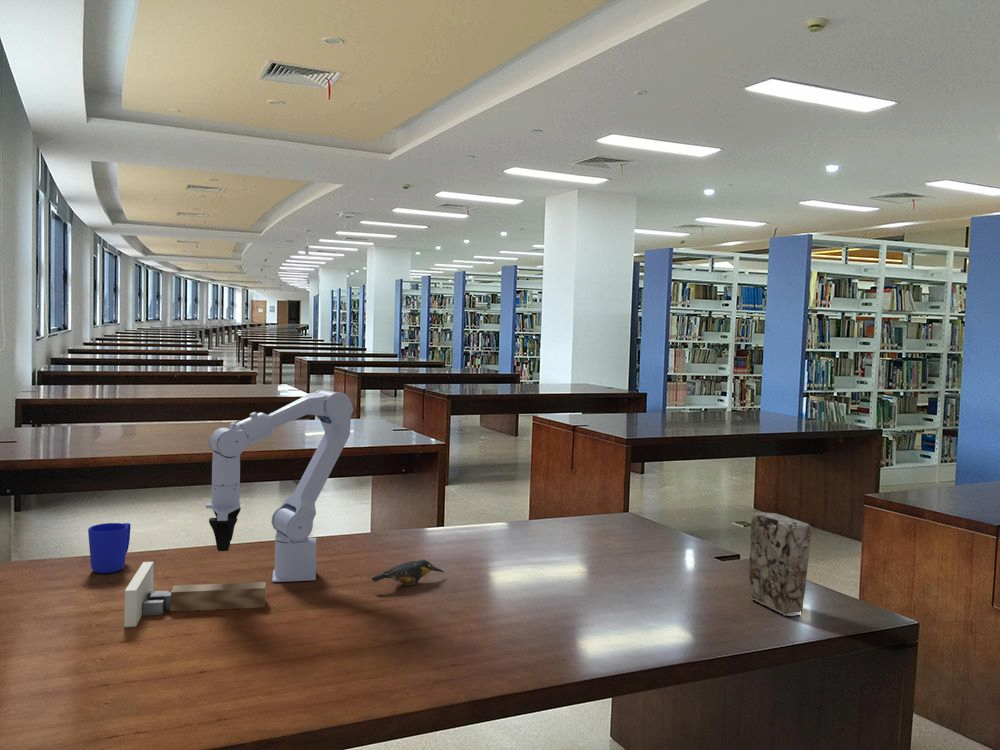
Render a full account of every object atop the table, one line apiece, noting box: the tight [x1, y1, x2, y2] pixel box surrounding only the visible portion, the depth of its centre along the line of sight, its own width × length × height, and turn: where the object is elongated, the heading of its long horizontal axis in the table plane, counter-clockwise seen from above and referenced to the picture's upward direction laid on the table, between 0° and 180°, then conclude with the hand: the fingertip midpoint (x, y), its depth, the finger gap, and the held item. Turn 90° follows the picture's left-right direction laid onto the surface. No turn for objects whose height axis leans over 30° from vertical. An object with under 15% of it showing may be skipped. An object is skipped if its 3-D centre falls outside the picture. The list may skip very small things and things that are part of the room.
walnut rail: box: [150, 581, 267, 613], centre depth 159 cm, size 22×4×4 cm, turn 104°
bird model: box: [369, 559, 445, 586], centre depth 177 cm, size 20×5×5 cm, turn 131°
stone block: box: [748, 511, 812, 614], centre depth 171 cm, size 13×7×20 cm, turn 26°
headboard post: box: [124, 561, 169, 628], centre depth 156 cm, size 6×18×7 cm, turn 14°
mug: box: [87, 522, 132, 574], centre depth 181 cm, size 8×12×10 cm
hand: (224, 545), depth 170 cm, fingers open, 7 cm apart
